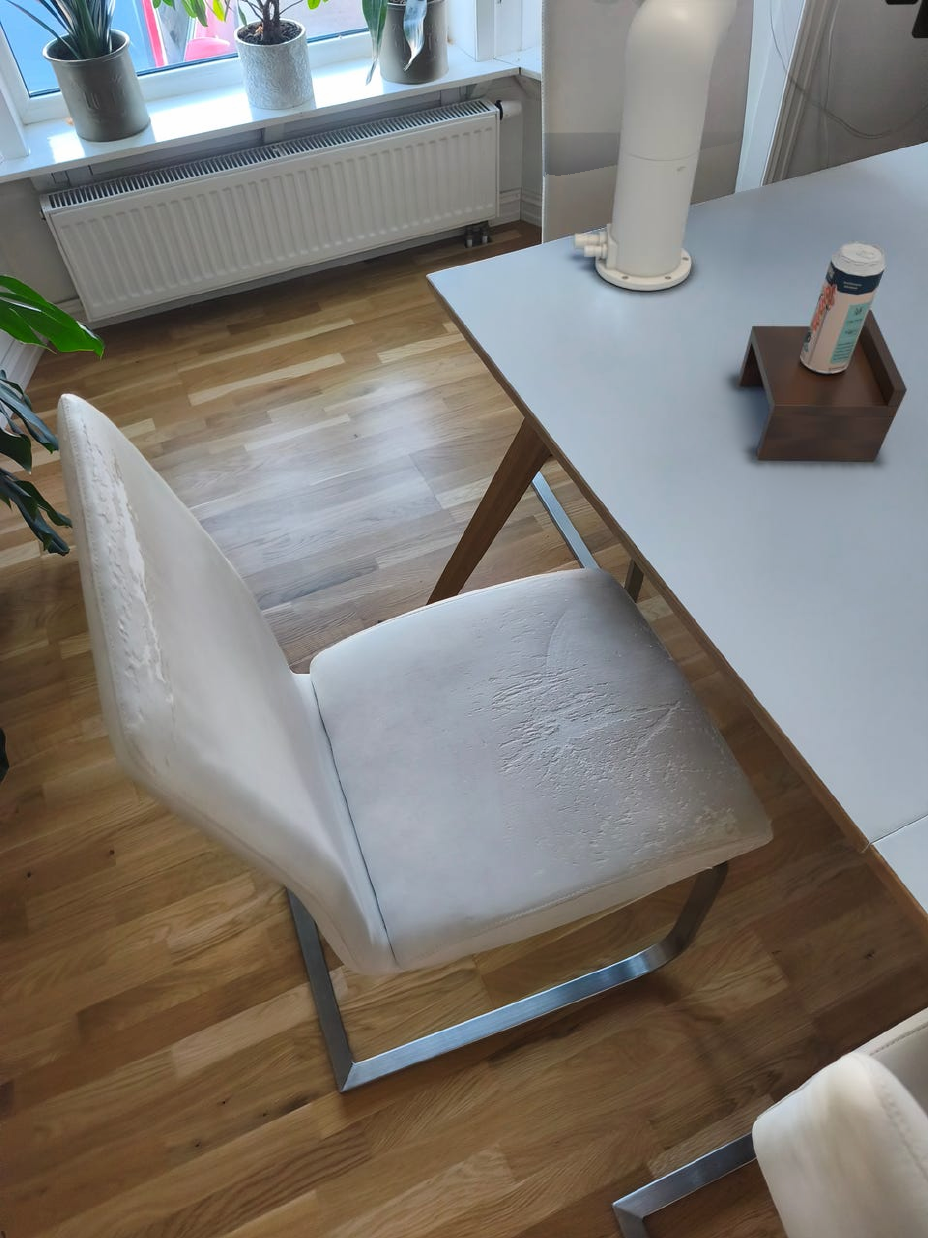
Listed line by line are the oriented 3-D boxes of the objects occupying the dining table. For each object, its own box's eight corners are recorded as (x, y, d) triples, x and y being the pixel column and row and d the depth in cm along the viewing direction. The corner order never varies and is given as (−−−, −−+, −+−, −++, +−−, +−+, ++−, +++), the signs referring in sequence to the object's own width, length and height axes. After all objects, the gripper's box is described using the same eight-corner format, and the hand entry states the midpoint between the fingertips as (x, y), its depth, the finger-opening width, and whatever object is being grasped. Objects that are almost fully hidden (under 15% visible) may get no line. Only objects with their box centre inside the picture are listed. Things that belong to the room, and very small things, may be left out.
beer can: (811, 344, 90) (848, 233, 81) (854, 360, 88) (897, 248, 79) (790, 366, 88) (826, 254, 78) (835, 383, 86) (876, 270, 76)
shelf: (757, 460, 89) (780, 388, 82) (737, 379, 98) (756, 308, 91) (874, 461, 89) (907, 389, 82) (844, 380, 97) (871, 309, 90)
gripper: (917, -236, 77) (854, -8, 90) (980, -202, 66) (898, 51, 79) (1003, -239, 76) (927, -9, 89) (1080, -205, 65) (981, 50, 79)
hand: (913, 19), depth 84 cm, fingers open, 9 cm apart
